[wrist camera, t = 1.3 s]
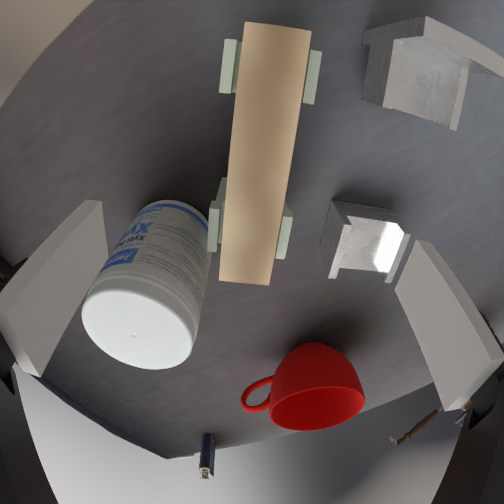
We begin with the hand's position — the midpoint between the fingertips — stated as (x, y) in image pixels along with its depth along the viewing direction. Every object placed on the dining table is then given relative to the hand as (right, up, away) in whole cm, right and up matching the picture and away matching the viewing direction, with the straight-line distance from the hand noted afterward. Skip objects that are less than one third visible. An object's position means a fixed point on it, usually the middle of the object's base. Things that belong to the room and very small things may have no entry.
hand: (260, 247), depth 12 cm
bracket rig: (+12, +10, +17) cm, 23 cm away
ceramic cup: (+7, -16, +34) cm, 38 cm away
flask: (-11, -45, +52) cm, 70 cm away
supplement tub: (-9, +2, +22) cm, 24 cm away
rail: (0, +8, +11) cm, 13 cm away
